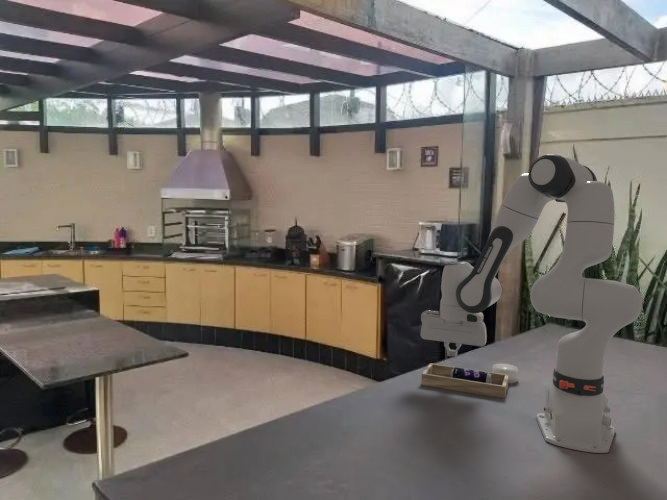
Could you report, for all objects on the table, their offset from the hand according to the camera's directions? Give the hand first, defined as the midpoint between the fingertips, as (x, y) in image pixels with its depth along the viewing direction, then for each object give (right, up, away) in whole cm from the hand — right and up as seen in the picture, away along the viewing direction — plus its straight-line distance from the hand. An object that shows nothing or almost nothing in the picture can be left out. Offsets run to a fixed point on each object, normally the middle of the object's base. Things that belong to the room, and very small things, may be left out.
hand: (452, 356), depth 165 cm
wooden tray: (+4, -9, 0) cm, 10 cm away
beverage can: (0, -6, 0) cm, 6 cm away
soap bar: (+19, -9, +7) cm, 22 cm away
